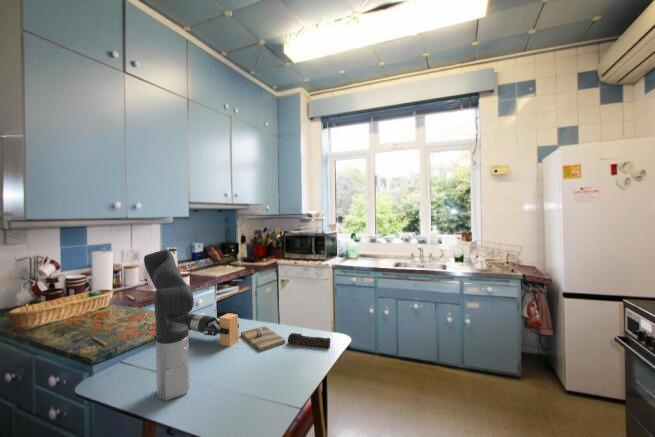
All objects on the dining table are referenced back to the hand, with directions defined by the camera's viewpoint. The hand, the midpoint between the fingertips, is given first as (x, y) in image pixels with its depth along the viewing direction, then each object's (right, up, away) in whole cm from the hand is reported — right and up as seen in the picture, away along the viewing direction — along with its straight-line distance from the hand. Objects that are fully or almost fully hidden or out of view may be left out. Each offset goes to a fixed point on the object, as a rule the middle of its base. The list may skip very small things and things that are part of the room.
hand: (233, 329), depth 123 cm
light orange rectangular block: (-2, -7, +1) cm, 7 cm away
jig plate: (+12, -6, +5) cm, 14 cm away
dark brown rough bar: (+33, -7, -2) cm, 34 cm away
